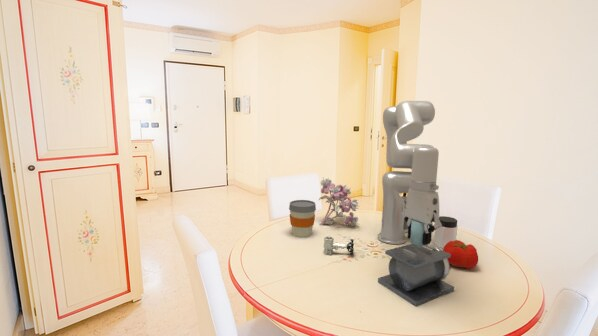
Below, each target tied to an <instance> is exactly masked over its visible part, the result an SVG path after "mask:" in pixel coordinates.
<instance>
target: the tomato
mask: <svg viewBox="0 0 598 336" xmlns="http://www.w3.org/2000/svg"><path fill="white" fill-rule="evenodd" d="M442 249H443V250H442V251H444V252H447V253H449V254H451V257H449V258H447V259H448V262H449V265H451V266H454V267H458V268H460V267H463V268H464V269H473V268H474V267H476V266H477V265H478V263H479V255H478V251H477V248H476V247H475V245H472V244H465V243H464V242H463V241H461V240H460V239H459V240H458V239H456V240H455V241H449V242H448V243H447V244H446V245H445V246H444V248H442Z"/></svg>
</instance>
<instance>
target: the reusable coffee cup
mask: <svg viewBox="0 0 598 336" xmlns="http://www.w3.org/2000/svg"><path fill="white" fill-rule="evenodd" d="M288 210H289V222H290V225H291V232H292V236H294V237H297V238H308V237H311V236H312V233H313V232H312V231H313V227H314V224H315V218H316V214H315V213H316V210H317V207H316V202H315V201H313V200H307V199H296V200H292V201H290V202H289V206H288Z"/></svg>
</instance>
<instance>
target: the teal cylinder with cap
mask: <svg viewBox="0 0 598 336" xmlns="http://www.w3.org/2000/svg"><path fill="white" fill-rule="evenodd" d="M428 228H429V225H428ZM424 232H425V229H424V224H423V223H421V222H419V221H416V220H413V219H412V222H411V236H410V240H409V242H410V244H413V245H416V246H426V245H423V244H422V240H423V233H424Z"/></svg>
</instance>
